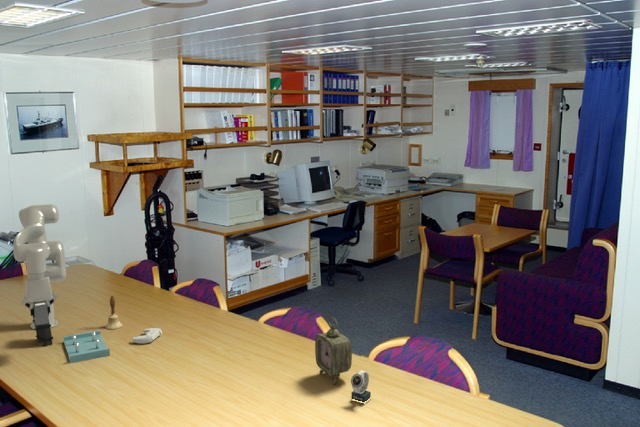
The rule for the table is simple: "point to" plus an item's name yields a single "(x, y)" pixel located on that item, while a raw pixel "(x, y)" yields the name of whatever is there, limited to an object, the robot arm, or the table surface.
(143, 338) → the game controller
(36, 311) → the block
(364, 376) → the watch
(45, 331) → the black stepped block
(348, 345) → the tabletop clock
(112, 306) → the hand bell
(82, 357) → the pin tray
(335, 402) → the table surface
